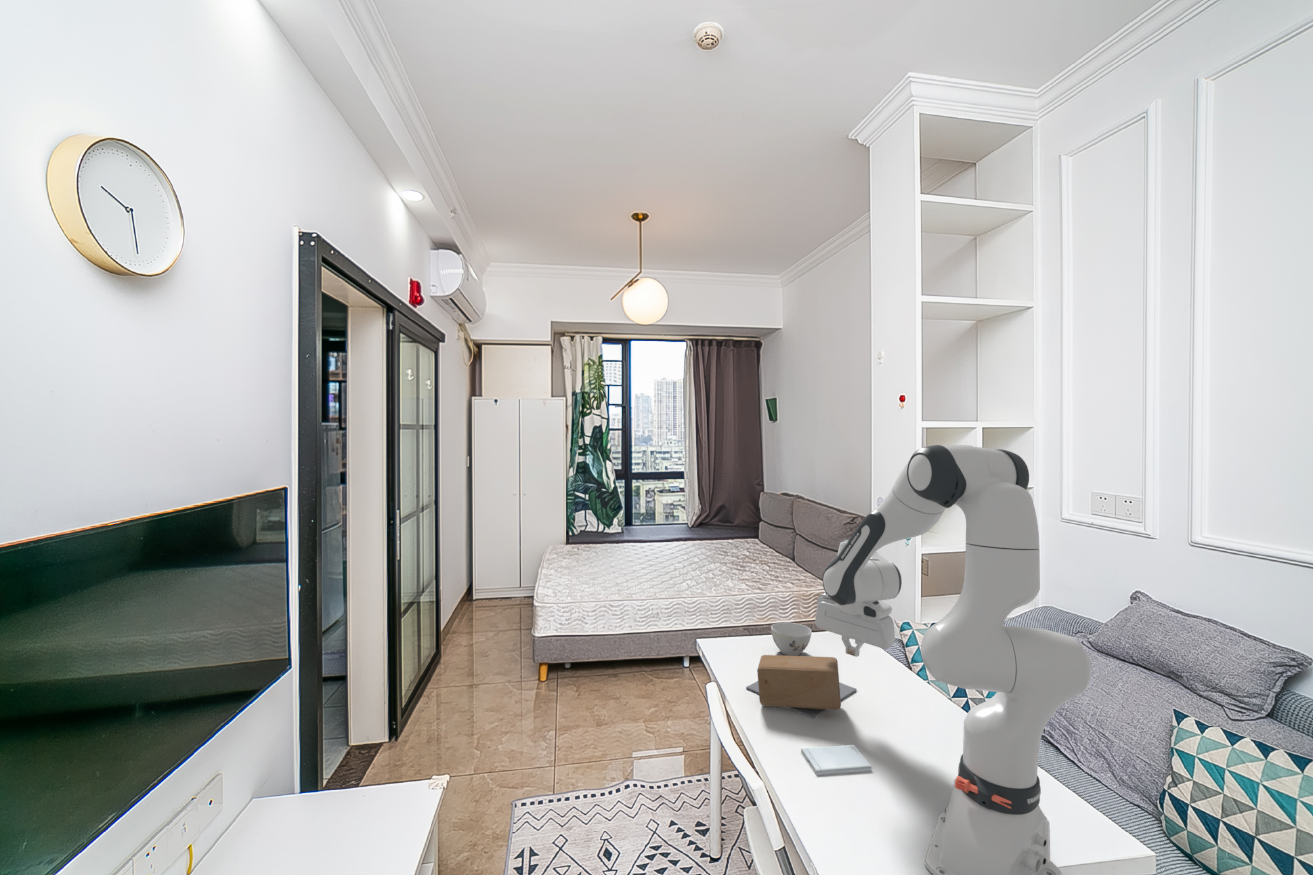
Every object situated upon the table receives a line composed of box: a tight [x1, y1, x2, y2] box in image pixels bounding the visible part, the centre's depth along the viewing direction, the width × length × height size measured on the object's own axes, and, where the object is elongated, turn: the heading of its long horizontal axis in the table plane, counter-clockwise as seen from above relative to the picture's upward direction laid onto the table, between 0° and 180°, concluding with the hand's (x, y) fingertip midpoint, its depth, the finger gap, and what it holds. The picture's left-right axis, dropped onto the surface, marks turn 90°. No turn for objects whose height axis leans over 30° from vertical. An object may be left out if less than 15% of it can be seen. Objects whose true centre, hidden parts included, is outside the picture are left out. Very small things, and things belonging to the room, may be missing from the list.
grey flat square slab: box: [745, 680, 858, 719], centre depth 156 cm, size 22×21×1 cm
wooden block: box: [756, 654, 842, 711], centre depth 147 cm, size 10×10×20 cm
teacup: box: [770, 621, 812, 656], centre depth 181 cm, size 15×12×8 cm
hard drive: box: [800, 744, 872, 776], centre depth 123 cm, size 2×8×12 cm
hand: (852, 654), depth 145 cm, fingers closed
